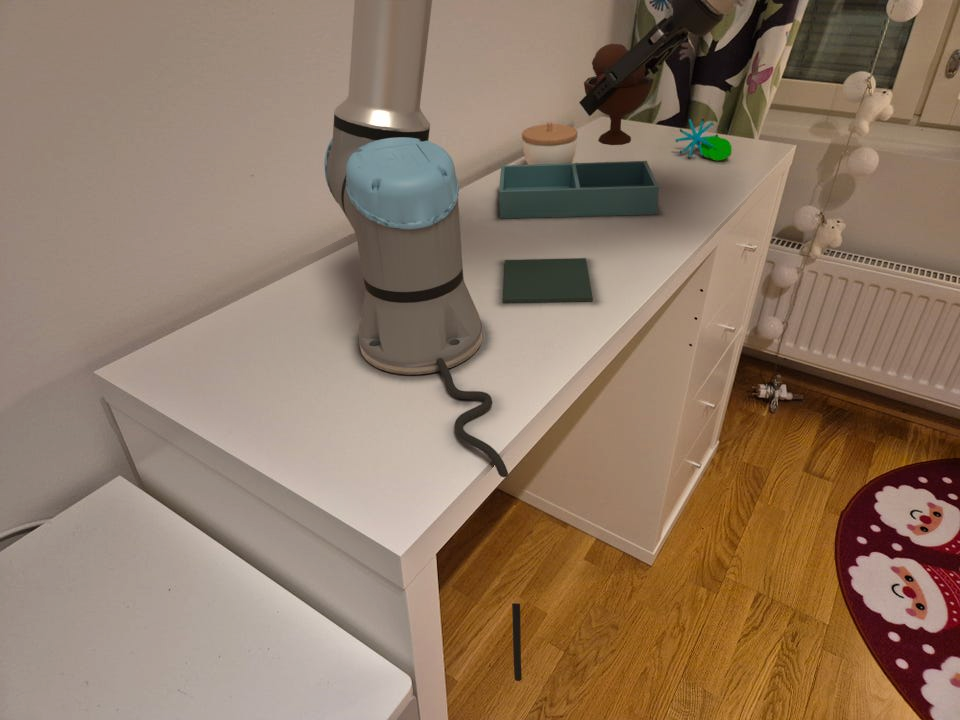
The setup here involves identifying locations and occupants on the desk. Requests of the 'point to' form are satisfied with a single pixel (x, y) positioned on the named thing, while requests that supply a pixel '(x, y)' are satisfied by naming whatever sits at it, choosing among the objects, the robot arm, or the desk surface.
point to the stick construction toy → (707, 143)
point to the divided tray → (577, 190)
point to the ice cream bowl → (618, 92)
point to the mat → (546, 281)
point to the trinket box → (549, 144)
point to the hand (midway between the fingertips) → (601, 100)
